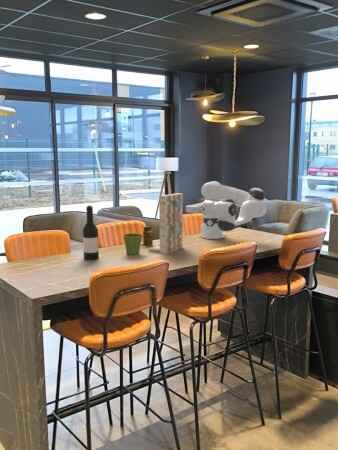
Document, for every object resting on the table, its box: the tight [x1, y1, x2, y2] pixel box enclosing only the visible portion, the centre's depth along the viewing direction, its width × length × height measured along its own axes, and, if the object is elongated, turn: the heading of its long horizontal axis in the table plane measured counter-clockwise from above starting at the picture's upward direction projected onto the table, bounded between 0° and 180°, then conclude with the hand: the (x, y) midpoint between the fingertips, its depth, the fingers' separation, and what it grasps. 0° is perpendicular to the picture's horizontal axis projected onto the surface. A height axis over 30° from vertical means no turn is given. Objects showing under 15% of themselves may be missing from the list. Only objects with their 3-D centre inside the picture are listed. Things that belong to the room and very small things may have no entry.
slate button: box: [173, 200, 182, 207], centre depth 260 cm, size 4×6×4 cm
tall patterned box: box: [148, 192, 184, 255], centre depth 265 cm, size 20×12×34 cm, turn 148°
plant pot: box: [122, 232, 143, 256], centre depth 257 cm, size 12×12×11 cm
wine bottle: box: [82, 205, 100, 261], centre depth 244 cm, size 8×8×30 cm
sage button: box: [173, 226, 180, 234], centre depth 263 cm, size 4×6×4 cm
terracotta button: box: [173, 213, 180, 220], centre depth 262 cm, size 4×6×4 cm
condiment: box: [140, 225, 155, 248], centre depth 281 cm, size 7×8×12 cm
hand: (186, 206), depth 256 cm, fingers closed
